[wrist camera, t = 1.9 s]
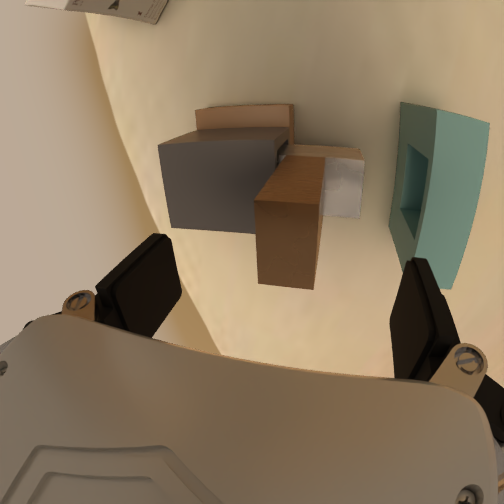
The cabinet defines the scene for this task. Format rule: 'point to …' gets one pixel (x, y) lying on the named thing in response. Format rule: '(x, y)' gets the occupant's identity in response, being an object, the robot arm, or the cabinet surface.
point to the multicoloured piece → (303, 209)
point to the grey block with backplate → (223, 165)
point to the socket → (436, 187)
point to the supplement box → (109, 7)
